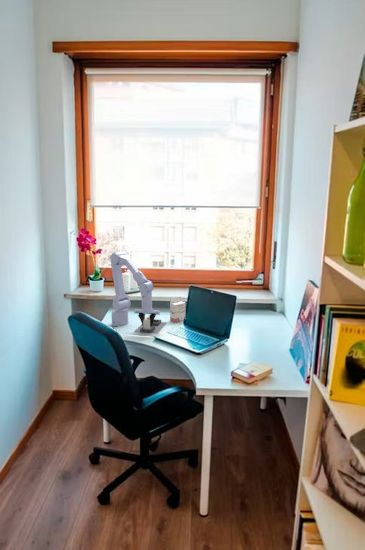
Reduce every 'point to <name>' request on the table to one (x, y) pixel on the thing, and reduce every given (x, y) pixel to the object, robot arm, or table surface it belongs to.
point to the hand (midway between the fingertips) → (147, 326)
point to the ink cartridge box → (177, 309)
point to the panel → (155, 328)
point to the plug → (146, 323)
